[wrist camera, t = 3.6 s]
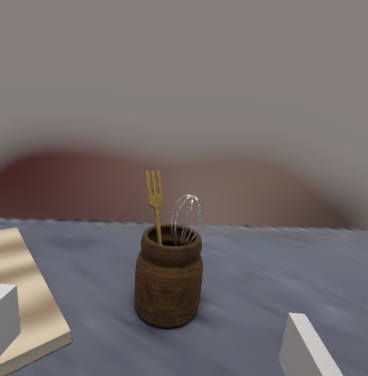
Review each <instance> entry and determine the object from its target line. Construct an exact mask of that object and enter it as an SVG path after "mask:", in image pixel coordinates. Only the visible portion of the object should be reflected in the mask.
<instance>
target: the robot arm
mask: <svg viewBox="0 0 368 376" xmlns="http://www.w3.org/2000/svg"><path fill="white" fill-rule="evenodd" d="M20 333H21V329H20V317H19V305H18V292H17V285H10V284H0V356H1V355H2V354H3V353H4V351H5V350H6V349H7V348H8V347H9V346H10V345H11V343H12V342H13V341H14V340H15V339H16V338H17V337H18V335H19V334H20ZM279 362H280V365H281V367H282V370H283V373H284V375H285V376H343V375H342V373H341V371H340V370H339V368H338V367H337V365H336V363H335V362H334V360H333V359H332V357H331V355H330V354H329V352H328V351H327V349H326V347H325V346H324V344H323V343H322V341H321V339H320V338H319V336H318V334H317V333H316V331H315V330H314V328H313V326H312V325H311V323H310V322H309V320H308V318H307V317H306V315H305V314H297V313H289V314H288V318H287V323H286V328H285V332H284V337H283V341H282V346H281V351H280V355H279Z"/></svg>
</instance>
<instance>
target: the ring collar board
mask: <svg viewBox="0 0 368 376" xmlns="http://www.w3.org/2000/svg"><path fill="white" fill-rule="evenodd" d="M0 284H10V285H17V292H18V305H19V317H20V329H21V333H20V334H19V335H18V337H17V338H16V339H15V340H14V341H13V342H12V343H11V345H10V346H9V347H8V348H7V349H6V350H5V351H4V353H3V354H2V355H1V356H0V376H5V375H7V374H9V373H11V372H13V371H15V370H17V369H19V368H21V367H23V366H25V365H27V364H29V363H31V362H33V361H35V360H37V359H39V358H41V357H43V356H45V355H47V354H49V353H51V352H53V351H55V350H57V349H59V348H61V347H63V346H65V345H67V344H69V343H71V330H70V329H69V327H68V325H67V323H66V321H65V319H64V317H63V315H62V313H61V311H60V309H59V308H58V306H57V304H56V302H55V300H54V298H53V296H52V294H51V292H50V290H49V288H48V286H47V285H46V283H45V281H44V279H43V277H42V275H41V273H40V271H39V269H38V267H37V265H36V264H35V262H34V260H33V258H32V256H31V254H30V252H29V250H28V248H27V246H26V244H25V242H24V241H23V239H22V237H21V235H20V233H19V231H18V229H17V227H16V228H10V229H4V230H0Z"/></svg>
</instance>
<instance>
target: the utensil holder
mask: <svg viewBox="0 0 368 376" xmlns="http://www.w3.org/2000/svg"><path fill="white" fill-rule="evenodd" d="M151 176H152V189H153V196H152V195H151V186H150V178H149V172H148V171H146V184H147V197H148V205H149V206H151V207H153V208H154V212H155V222H156V226H152V227H150V228H148V229H146V230H145V231H144V233H143V236H142V240H141V249H142V250H141V251H140V253H139V255H138V258H137V262H136V272H135V306H136V310H137V312H138V314H139V315H140V316H141V317H142V319H144V320H145V321H146V322H148V323H150V324H152V325H155V326H158V327H176V326H180V325H182V324H184V323H186V322H188V321H189V320H190V319H191V318H192V317H193V316H194V315H195V313H196V311H197V308H198V305H199V299H200V292H201V284H202V274H203V262H202V257H201V255H200V252H201V249H202V243H201V237H200V235H199V233H198V231H199V229H198V231H197V229H196V231H197V232H196V231H195V230H193V228H192V229H191V228H189V227H186V226H185V223H184V226H181V225H176V224H172V223H171V224H161V225H160V219H159V207H160V206H161V205H162V203H163V197H162V188H161V180H160V172H159V171H157V185H158V195H157V191H156V182H155V174H154V171H151ZM183 197H186V195H185V196H183ZM183 197H182V198H183ZM192 197H194V198H195V196H192V195H191V198H192ZM196 198H197V197H196ZM187 199H188V198H187ZM198 199H199V198H198ZM179 200H180V199H179ZM181 200H182V199H181ZM199 200H200V199H199ZM185 201H186V200H185ZM185 201H184V202H185ZM190 201H191V199H190ZM197 201H198V200H197ZM192 202H193V199H192ZM198 203H199V207H200V202H198ZM176 204H177V203H176ZM189 205H190V204H189ZM181 207H182V205H181ZM203 207H204V205H203ZM191 208H192V207H191ZM178 209H179V208H178ZM180 209H181V208H180ZM180 209H179V210H180ZM198 211H199V210H198ZM187 213H188V212H187ZM190 213H191V211H190ZM200 213H201V210H200ZM173 214H174V212H173ZM197 214H198V213H197ZM203 215H204V213H203ZM177 217H178V216H177ZM177 217H176V218H177ZM172 218H173V217H172ZM185 220H186V219H185ZM188 221H189V219H188ZM176 222H177V220H176ZM195 222H196V221H195ZM198 224H199V223H198ZM187 225H188V224H187ZM194 225H195V223H194ZM200 226H201V224H200ZM193 227H194V226H193ZM197 227H198V225H197ZM199 228H200V227H199Z"/></svg>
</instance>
